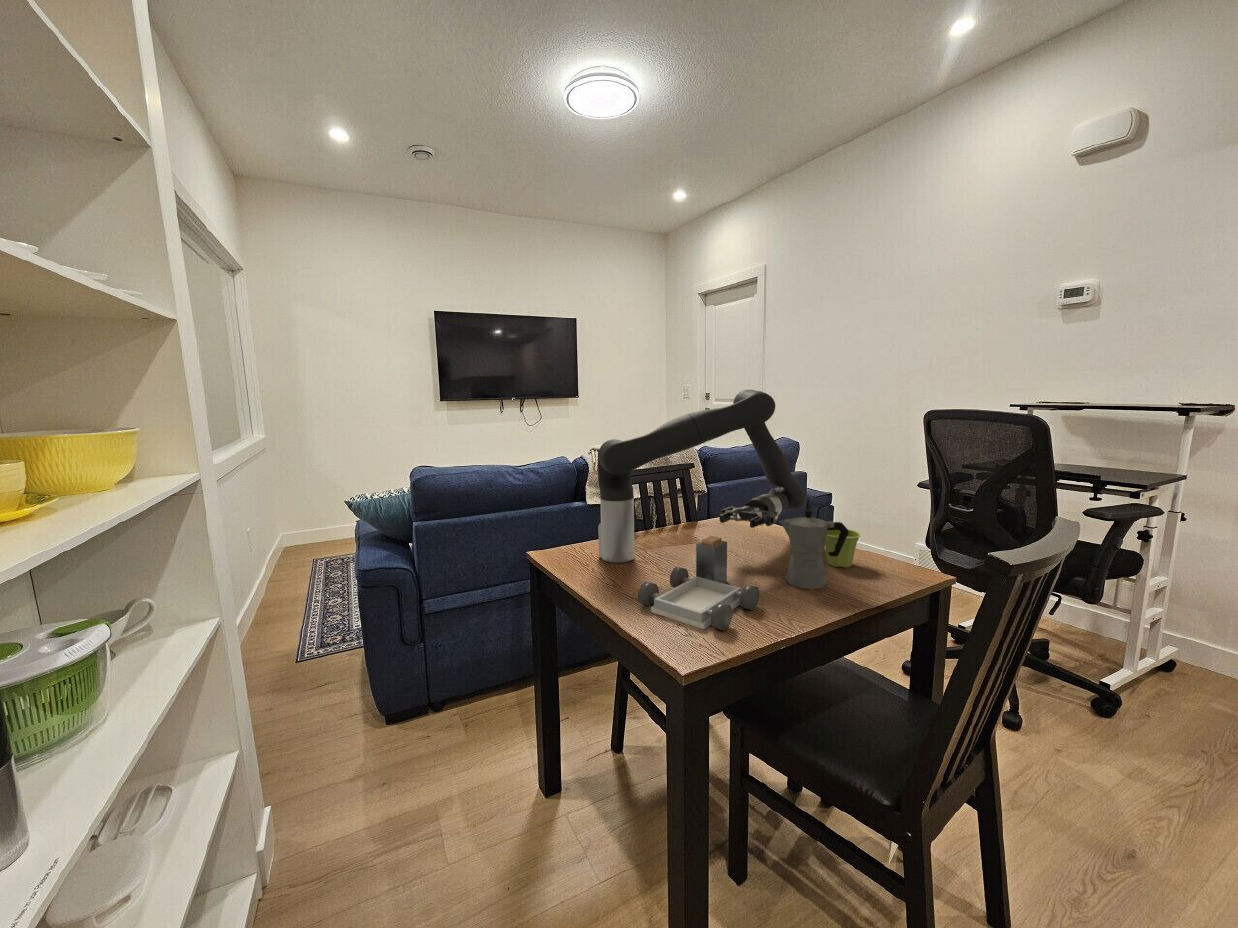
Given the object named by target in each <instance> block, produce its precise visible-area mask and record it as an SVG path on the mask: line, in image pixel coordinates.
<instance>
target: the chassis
mask: <svg viewBox="0 0 1238 928" xmlns="http://www.w3.org/2000/svg"><path fill="white" fill-rule="evenodd" d="M689 575H690V574H689V571H688V569H686V568H685V567H680V566H676V567H674V568H673V569H672V571H671V573H670V576H669V584H670V587H672V589H670V590H668V591H665V592H664V593H663V594H660V587H659V586H658V585H657V583H653V582H650V581H644V582H643V583H642V584H641V585H640V587H639V589H638V591H637V592H638V593H637V601H638V602H639V604H641V605H643V606H646V607H649V608H650V612H651V613H654V614H656V615H660V616H662V617H666V618H668V619H672V620H675V621H678V622H680V623H684V624H686V625H689V626H693V627H695V628H699V629H701V630H705V629H706V628H708V627H709V626H712V627H713V628H714V629H717V630H720V631H723V632H724V631H727V629H728V628H729V627H730V626H731V623H732V620H733V610H734V609H735V608H737V607H738V606H740V607H741V608H744V609H747V610H750V611H754V610H755V609H756V607H757V605H758V603H759V599H760V590H759V588H758V586H756V585H752V584H748V583H747V584H744V585H743V587H742V588H741V587H739V586H734V585H730V584H726V583H725V582H724V583H720V582H716V581H712V580H708V579H704V578H700V577H696V576H694V577H693V578H690V576H689Z"/></svg>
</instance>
